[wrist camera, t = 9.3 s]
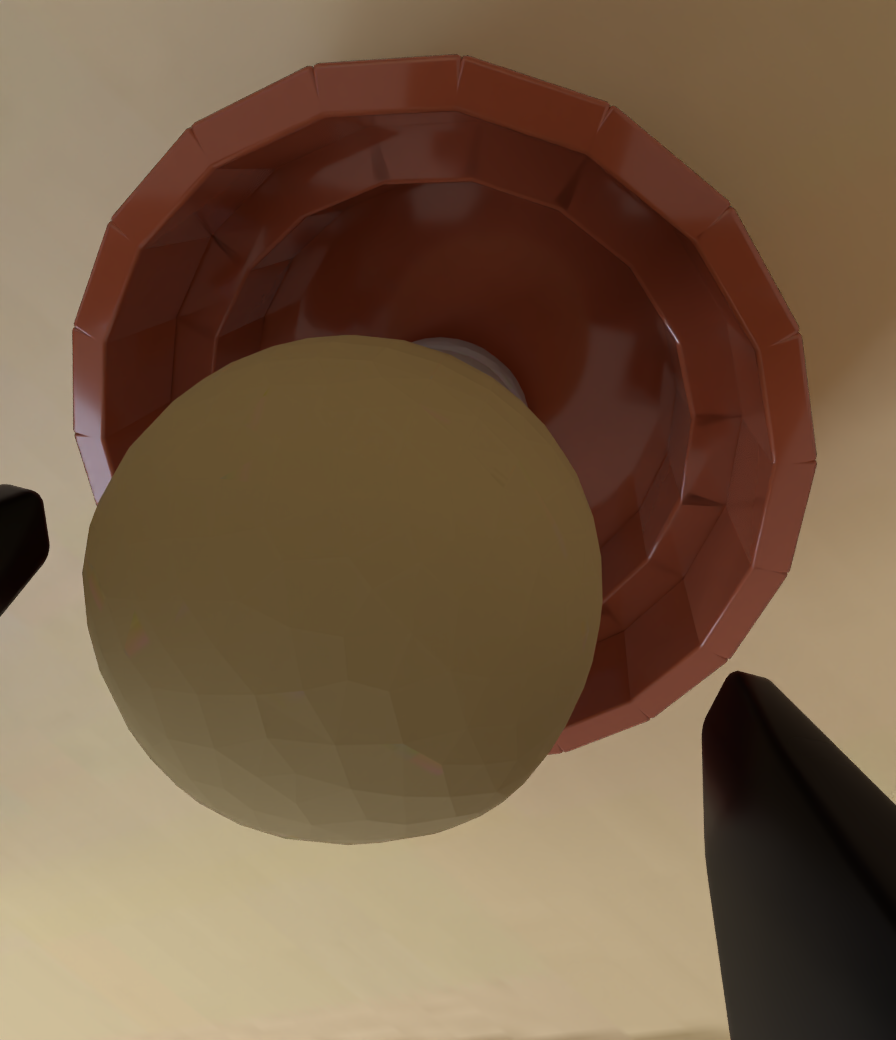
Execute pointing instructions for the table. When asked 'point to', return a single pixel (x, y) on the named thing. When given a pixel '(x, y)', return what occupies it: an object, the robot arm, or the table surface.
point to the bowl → (489, 320)
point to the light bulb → (346, 588)
